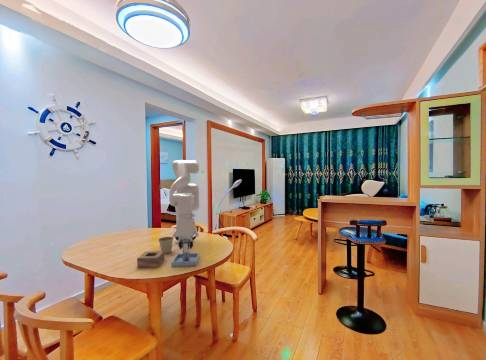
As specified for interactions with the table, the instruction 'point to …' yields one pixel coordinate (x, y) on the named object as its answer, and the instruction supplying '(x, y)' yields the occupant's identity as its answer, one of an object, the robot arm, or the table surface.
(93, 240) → the table surface
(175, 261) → the tray
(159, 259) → the socket block
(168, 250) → the flower pot
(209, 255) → the table surface
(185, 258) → the pin
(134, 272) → the table surface
